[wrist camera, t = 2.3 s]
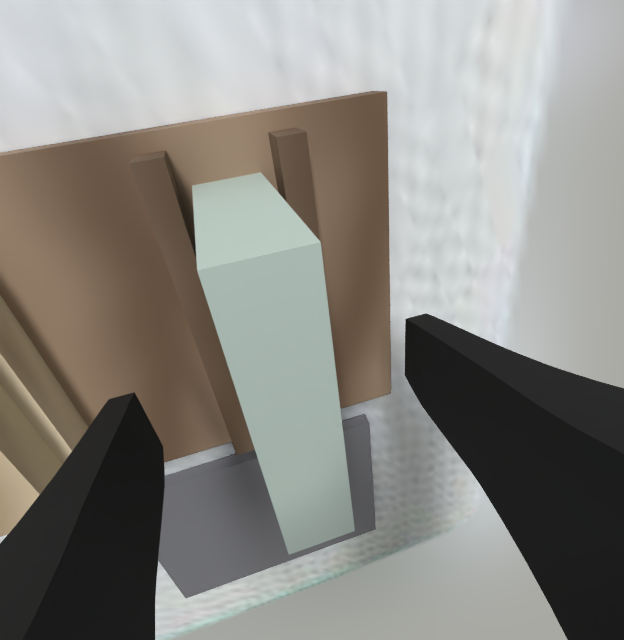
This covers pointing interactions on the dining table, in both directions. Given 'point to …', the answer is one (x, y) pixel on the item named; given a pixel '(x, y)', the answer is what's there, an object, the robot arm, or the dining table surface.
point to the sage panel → (277, 349)
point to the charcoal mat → (244, 516)
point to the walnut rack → (190, 257)
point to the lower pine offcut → (37, 388)
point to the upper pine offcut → (21, 464)
